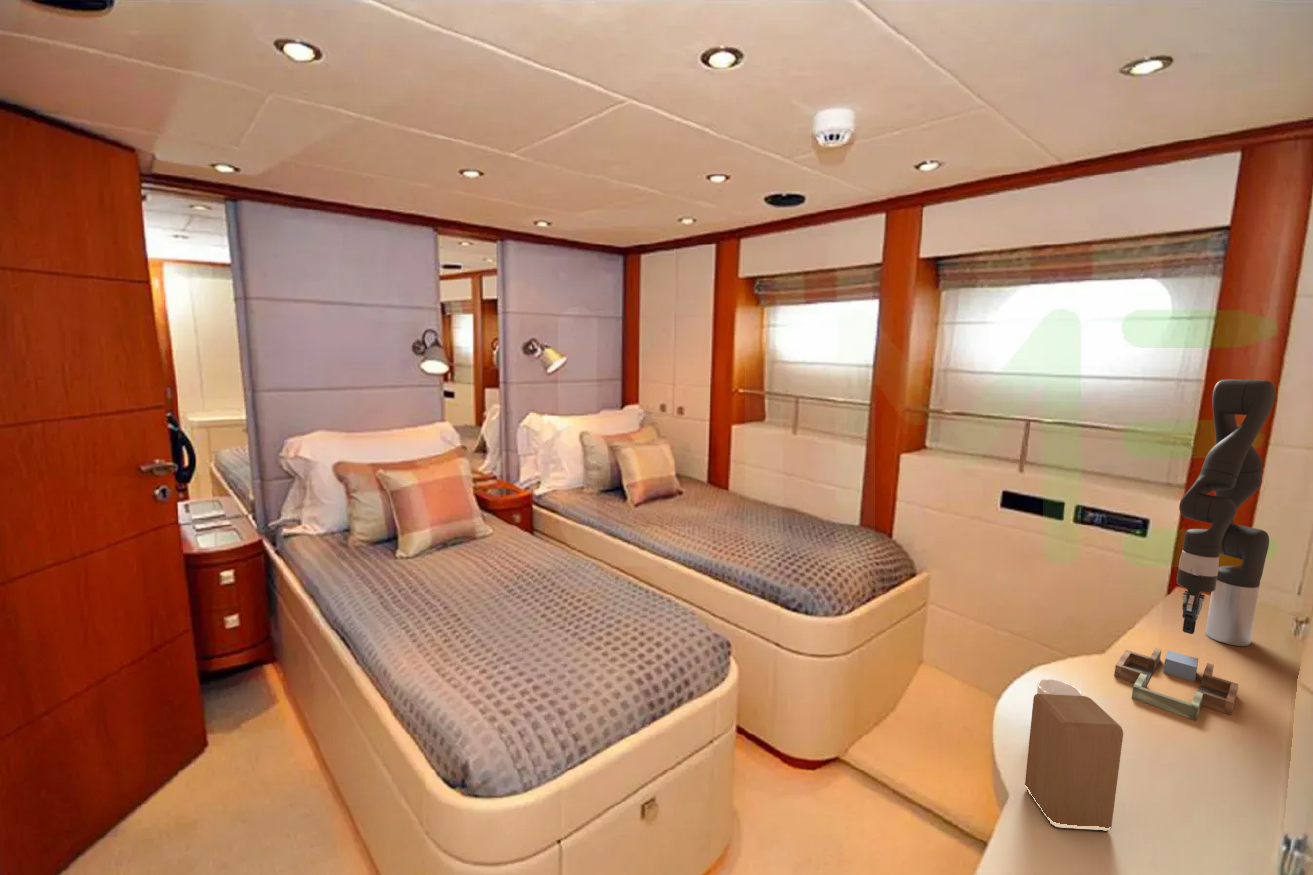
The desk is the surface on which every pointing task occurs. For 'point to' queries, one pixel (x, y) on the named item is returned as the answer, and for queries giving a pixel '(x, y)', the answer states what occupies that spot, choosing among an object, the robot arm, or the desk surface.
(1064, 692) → the white cup
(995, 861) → the desk surface
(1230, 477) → the robot arm
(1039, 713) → the wooden block
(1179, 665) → the slate block
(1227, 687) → the box
